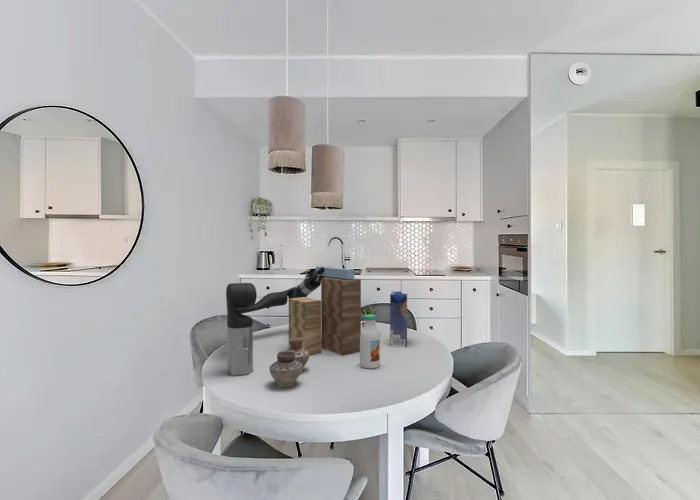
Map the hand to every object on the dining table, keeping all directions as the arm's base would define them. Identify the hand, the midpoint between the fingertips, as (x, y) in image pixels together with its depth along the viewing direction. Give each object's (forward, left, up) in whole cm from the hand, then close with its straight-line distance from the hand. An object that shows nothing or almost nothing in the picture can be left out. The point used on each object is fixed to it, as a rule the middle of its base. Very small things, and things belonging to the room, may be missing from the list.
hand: (327, 268), depth 182 cm
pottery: (-39, +21, -36) cm, 57 cm away
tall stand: (-9, -4, -36) cm, 37 cm away
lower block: (-8, +12, -36) cm, 39 cm away
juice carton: (-6, -33, -36) cm, 49 cm away
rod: (-5, -2, -3) cm, 6 cm away
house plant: (+14, -23, -36) cm, 45 cm away
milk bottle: (-34, -10, -36) cm, 51 cm away
